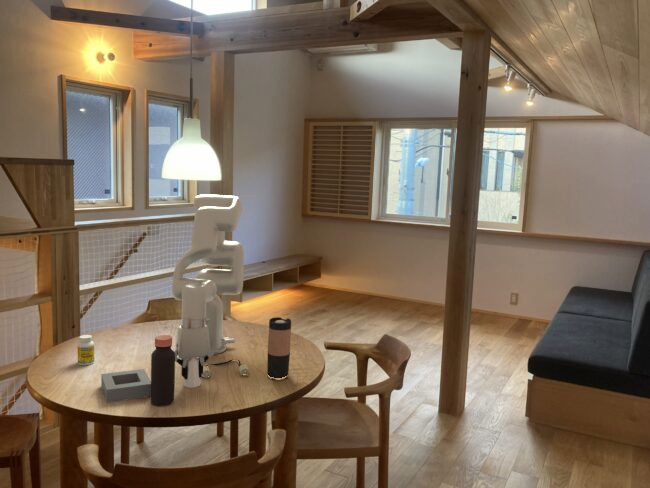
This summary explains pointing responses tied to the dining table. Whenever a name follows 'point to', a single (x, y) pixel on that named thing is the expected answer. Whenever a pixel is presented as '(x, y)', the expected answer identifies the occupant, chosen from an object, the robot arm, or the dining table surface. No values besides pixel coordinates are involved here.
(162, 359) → the dark brown water bottle
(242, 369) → the cable
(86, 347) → the supplement bottle
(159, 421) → the dining table surface
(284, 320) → the travel mug
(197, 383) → the pepper shaker
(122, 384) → the frame
